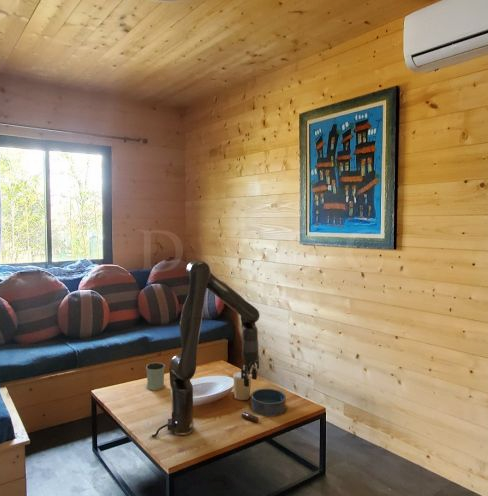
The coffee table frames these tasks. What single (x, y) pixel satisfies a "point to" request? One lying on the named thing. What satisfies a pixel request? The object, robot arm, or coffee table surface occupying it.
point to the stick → (250, 417)
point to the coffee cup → (241, 387)
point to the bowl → (268, 402)
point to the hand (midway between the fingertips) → (250, 382)
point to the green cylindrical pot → (155, 376)
